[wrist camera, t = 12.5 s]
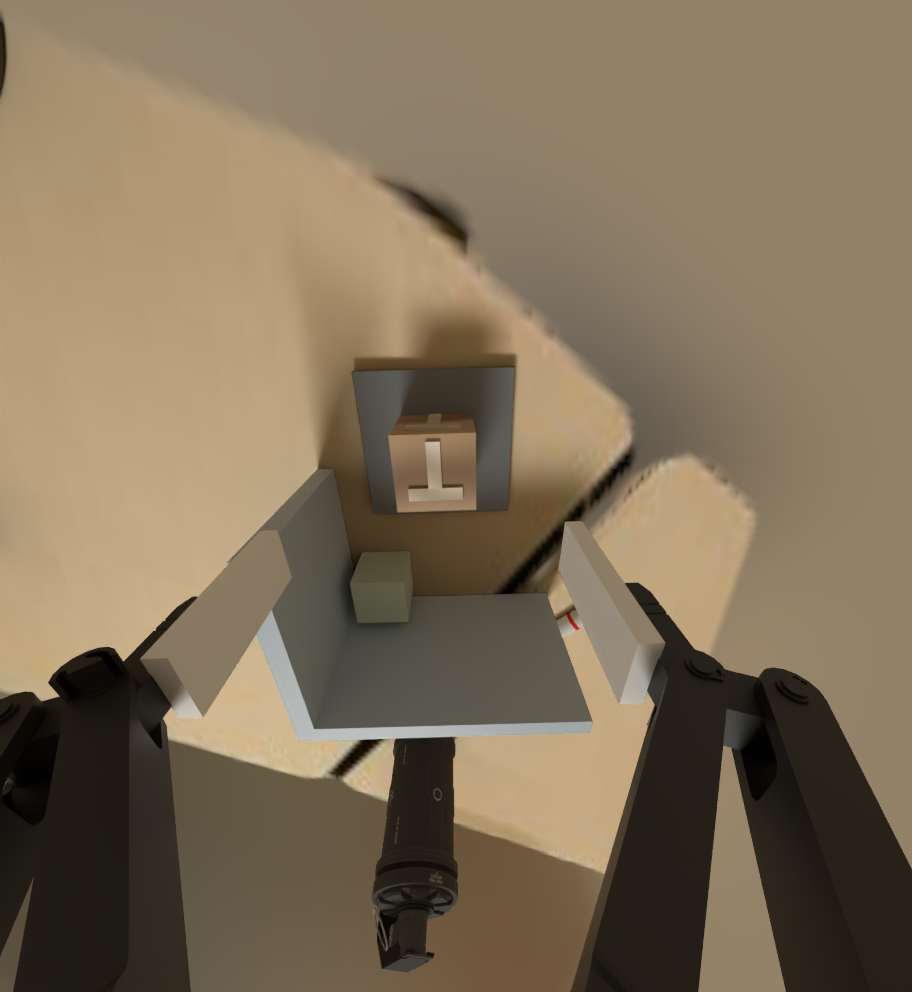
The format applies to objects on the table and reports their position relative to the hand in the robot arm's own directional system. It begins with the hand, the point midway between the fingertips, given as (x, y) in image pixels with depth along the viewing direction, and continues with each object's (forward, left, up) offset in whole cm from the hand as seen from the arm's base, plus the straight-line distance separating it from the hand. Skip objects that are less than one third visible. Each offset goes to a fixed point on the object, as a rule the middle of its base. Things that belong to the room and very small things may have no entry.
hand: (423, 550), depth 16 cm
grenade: (+46, -4, -17) cm, 49 cm away
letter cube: (0, 0, -16) cm, 16 cm away
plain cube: (+14, -6, -16) cm, 22 cm away
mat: (0, 0, -16) cm, 16 cm away
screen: (+10, 0, -16) cm, 19 cm away
